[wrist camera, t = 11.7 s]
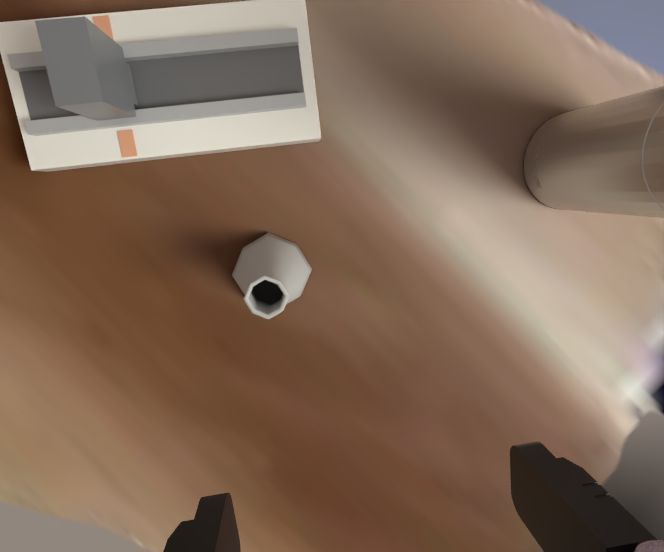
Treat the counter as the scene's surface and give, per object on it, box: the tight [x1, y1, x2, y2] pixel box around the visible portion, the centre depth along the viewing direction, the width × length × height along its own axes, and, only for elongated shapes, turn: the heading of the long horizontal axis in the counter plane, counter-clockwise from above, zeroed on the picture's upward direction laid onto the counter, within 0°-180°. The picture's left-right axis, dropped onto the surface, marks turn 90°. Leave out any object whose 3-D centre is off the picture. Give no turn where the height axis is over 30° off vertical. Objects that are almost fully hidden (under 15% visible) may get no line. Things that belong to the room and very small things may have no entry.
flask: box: [232, 233, 312, 319], centre depth 36 cm, size 7×7×10 cm
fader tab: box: [35, 16, 138, 121], centre depth 30 cm, size 3×5×7 cm, turn 7°
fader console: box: [0, 0, 321, 172], centre depth 35 cm, size 24×11×4 cm, turn 97°
